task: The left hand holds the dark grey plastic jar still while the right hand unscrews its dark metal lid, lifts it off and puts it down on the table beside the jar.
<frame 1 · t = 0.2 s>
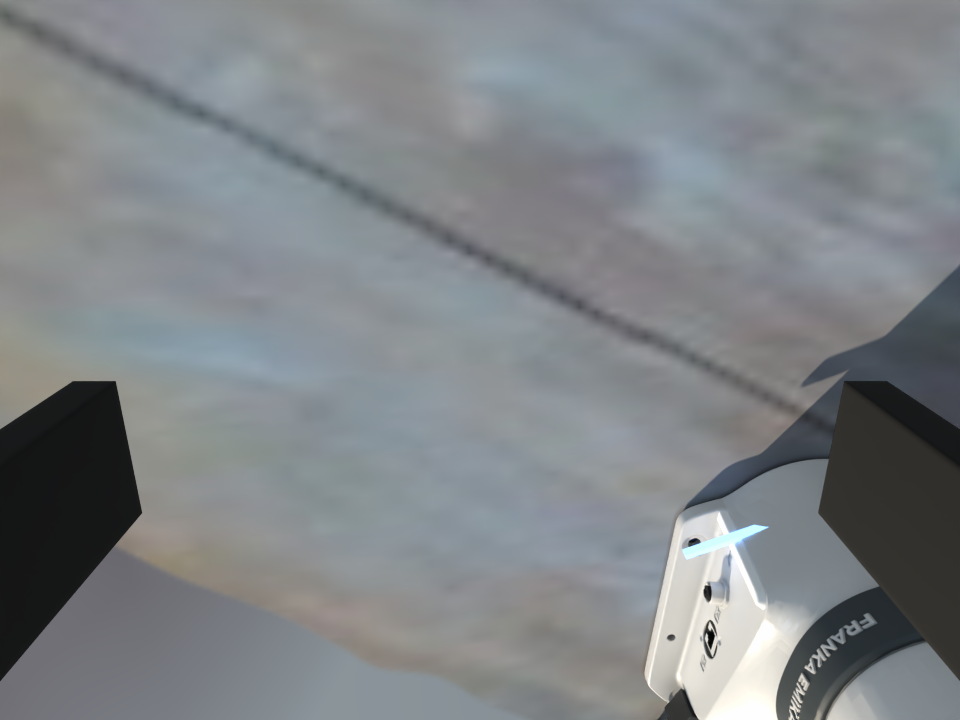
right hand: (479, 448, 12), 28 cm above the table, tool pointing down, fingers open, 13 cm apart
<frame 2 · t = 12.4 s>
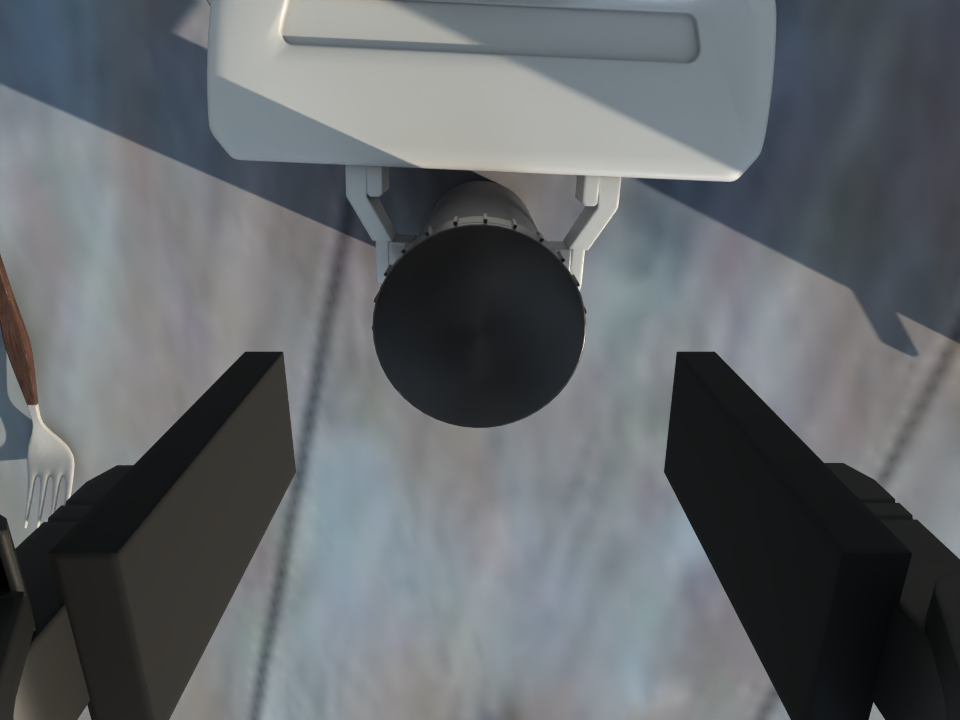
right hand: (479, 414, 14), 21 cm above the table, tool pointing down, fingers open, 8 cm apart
left hand: (479, 285, 28), fingers closed on jar, 5 cm apart
fork: (35, 379, 36), on the table
lid: (479, 328, 19), point 15 cm above the table, screwed on, not yet turned
jar: (479, 235, 34), on the table, touching left hand
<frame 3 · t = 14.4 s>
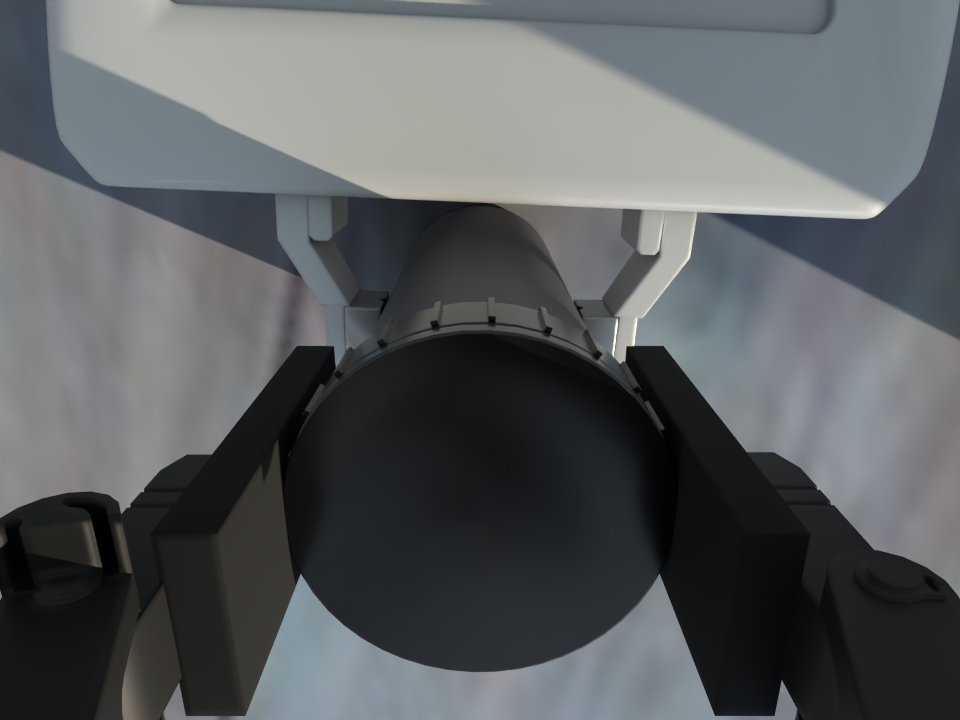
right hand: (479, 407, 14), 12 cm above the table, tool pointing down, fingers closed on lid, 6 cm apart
left hand: (480, 364, 19), fingers closed on jar, 5 cm apart
lid: (480, 506, 11), point 15 cm above the table, screwed on, not yet turned, touching right hand
jar: (480, 278, 25), on the table, touching left hand
when the right hand's fingers open (12 cm above the table, at t = 15.8 s): lid stays where it is, point 16 cm above the table.
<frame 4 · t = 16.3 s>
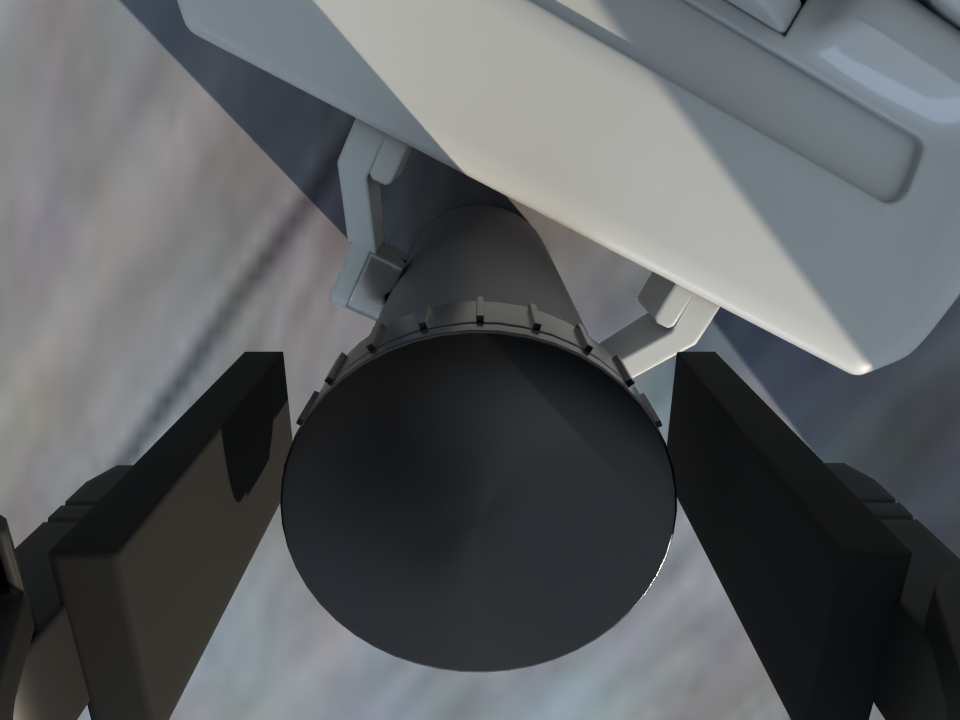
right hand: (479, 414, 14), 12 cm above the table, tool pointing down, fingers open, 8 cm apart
left hand: (466, 358, 19), fingers closed on jar, 5 cm apart
lid: (478, 506, 11), point 16 cm above the table, turned 74° so far, risen 0.2 cm, still on its thread
jar: (479, 276, 25), on the table, touching left hand
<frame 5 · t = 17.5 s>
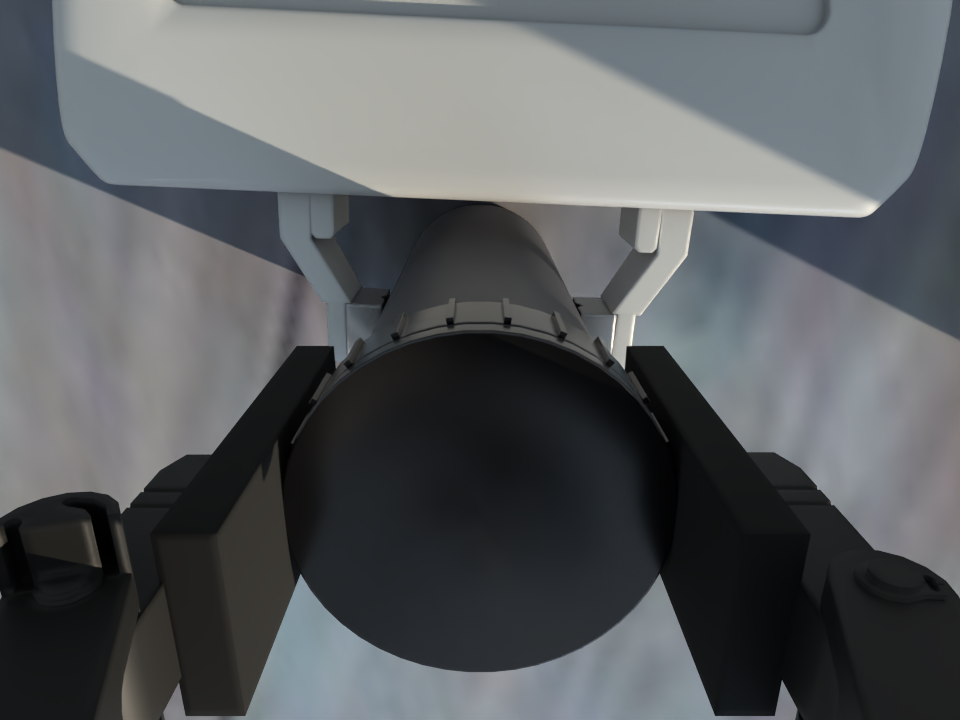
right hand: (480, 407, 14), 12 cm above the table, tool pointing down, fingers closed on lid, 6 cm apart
left hand: (480, 361, 19), fingers closed on jar, 5 cm apart
lid: (479, 506, 11), point 16 cm above the table, turned 74° so far, risen 0.2 cm, still on its thread, touching right hand
jar: (480, 277, 25), on the table, touching left hand
when the right hand's fingers open (0 cm above the table, at t = 23.0 s): lid drops 3 cm, point 1 cm above the table.
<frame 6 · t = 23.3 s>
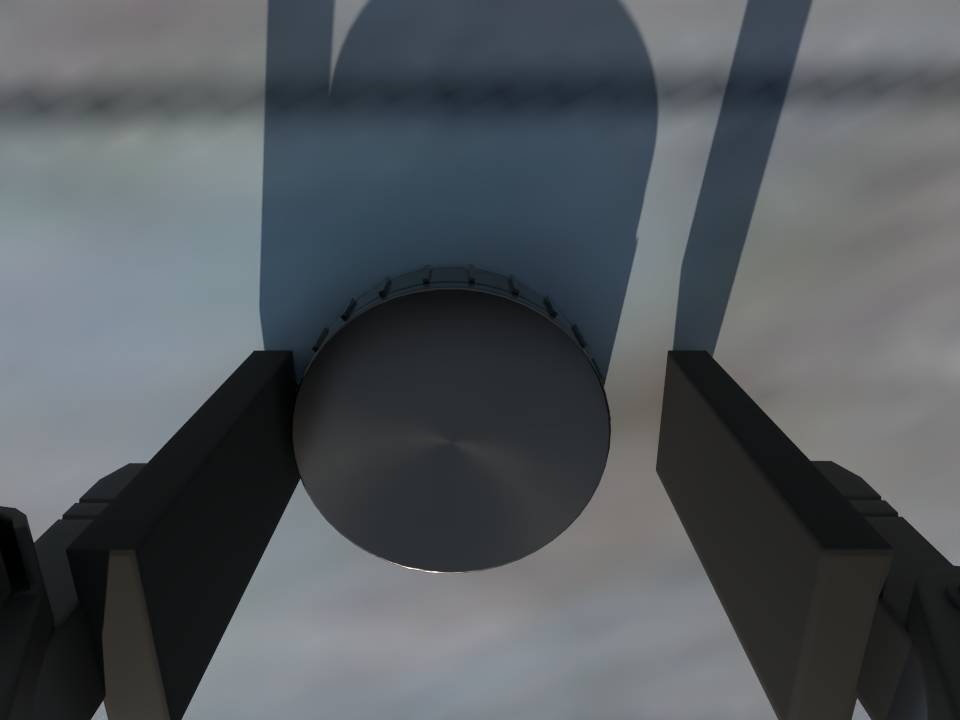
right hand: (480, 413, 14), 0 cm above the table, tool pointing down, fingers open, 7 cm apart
lid: (452, 434, 13), point 1 cm above the table, off its thread
when the left hand's fingers open (7 cm above the table, at t = 24.2 s): jar stays where it is, on the table.
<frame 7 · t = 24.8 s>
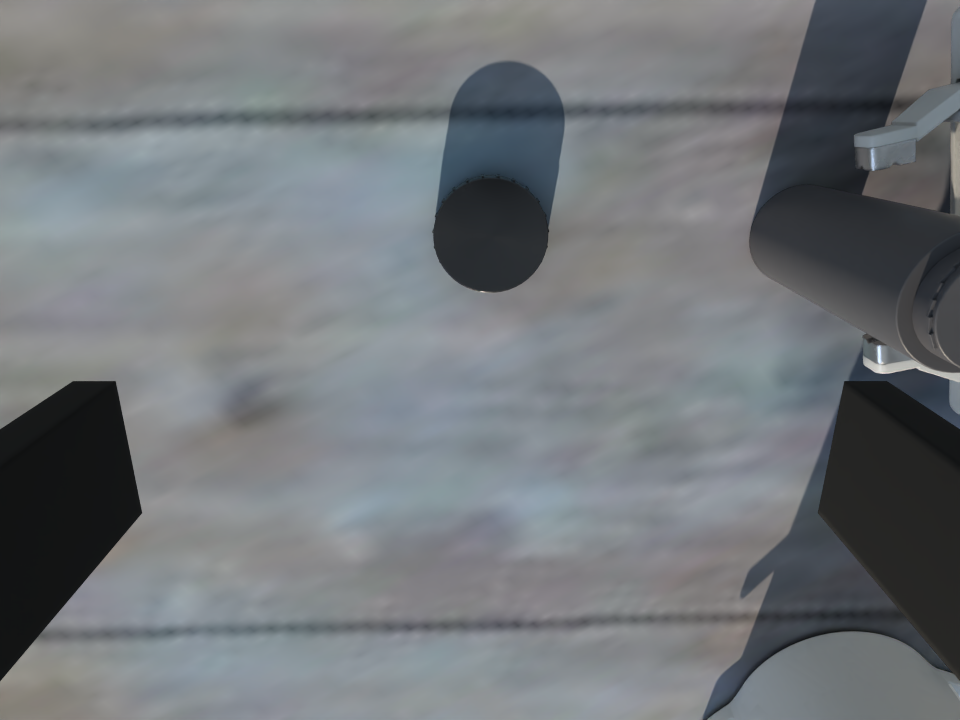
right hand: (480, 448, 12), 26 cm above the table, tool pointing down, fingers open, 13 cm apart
lid: (490, 235, 36), point 1 cm above the table, off its thread
jar: (798, 235, 37), on the table
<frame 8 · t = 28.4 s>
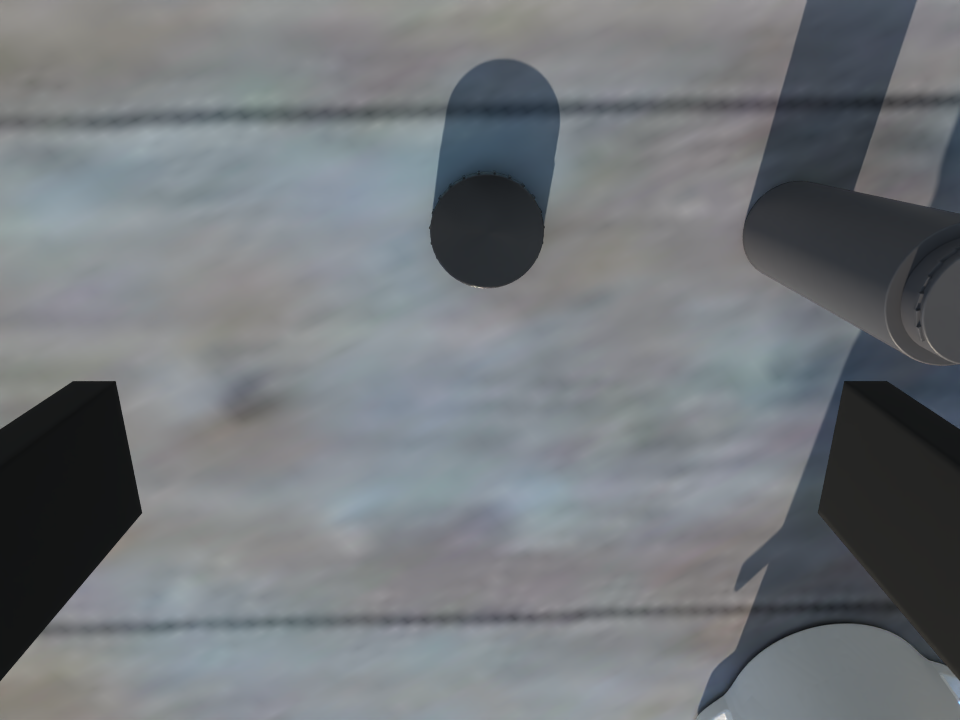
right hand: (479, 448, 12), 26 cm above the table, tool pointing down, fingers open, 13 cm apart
lid: (486, 231, 36), point 1 cm above the table, off its thread
jar: (791, 231, 37), on the table
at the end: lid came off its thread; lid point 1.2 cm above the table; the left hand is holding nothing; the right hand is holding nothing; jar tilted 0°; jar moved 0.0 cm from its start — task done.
